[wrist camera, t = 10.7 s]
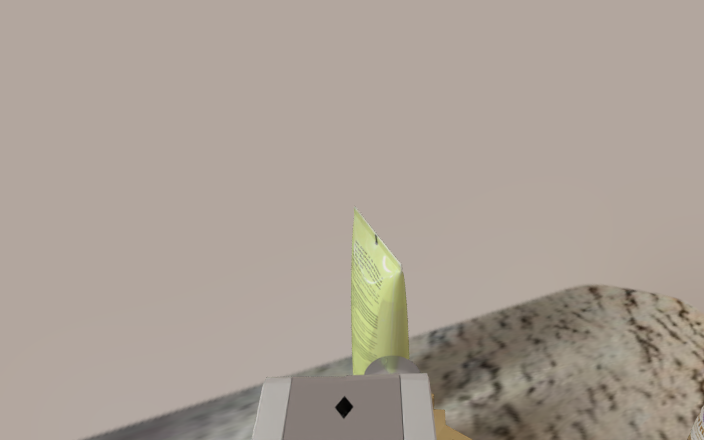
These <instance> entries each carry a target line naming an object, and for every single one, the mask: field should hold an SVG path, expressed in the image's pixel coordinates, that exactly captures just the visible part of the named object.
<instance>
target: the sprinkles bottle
mask: <svg viewBox="0 0 704 440" xmlns="http://www.w3.org/2000/svg"><path fill="white" fill-rule="evenodd" d="M687 440H704V406H703V408H702V409H701V411H700V413H699V415H698V417H697V419H696V421H695V423H694V425H693V427H692V429H691V433H690V435H689V437H688V439H687Z"/></svg>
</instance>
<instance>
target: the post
mask: <svg viewBox="0 0 704 440" xmlns="http://www.w3.org/2000/svg"><path fill="white" fill-rule="evenodd" d="M393 373H399V376H400V374H412V373H420V370H419V369H418V367H417V366H416V365H415V364H414V363H413V362H412V361H410V360H409V359H406V358H404V357H401V356H384V357H381V358H378V359H376V360H375V361H373V362H372V363H371V364H370V365H369V366H368V367H367V369H366V370H365V373H364V375H369V374H393Z"/></svg>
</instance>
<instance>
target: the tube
mask: <svg viewBox="0 0 704 440" xmlns="http://www.w3.org/2000/svg"><path fill="white" fill-rule="evenodd" d="M351 277H352V278H351V322H352V360H353V375H364V373H365V370H366V369H367V367H368V366H369V365H370V364H371V363H372V362H373V361H375V360H376V359H378V358H381V357H384V356H401V357H404V358H406V359H409V340H408V318H407V304H406V292H405V282H404V275H403V272H402V264H401V263H400V262H399V261H398V259H397V258H396V257H395V256H394V254H393V253H392V252H391V251H390V250H389V248H388V247H387V246H386V244H385V243H384V242H383V241H382V240H381V238H380V237H379V236H378V235H377V234H376V232H375V231H374V230H373V228H372V227H371V226H370V224H369V223H368V222H367V221H366V219H365V218H364V217H363V215H362V214H361V213H360V212H359V210H358V209H357V208H356V207H354V224H353V237H352V274H351Z"/></svg>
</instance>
